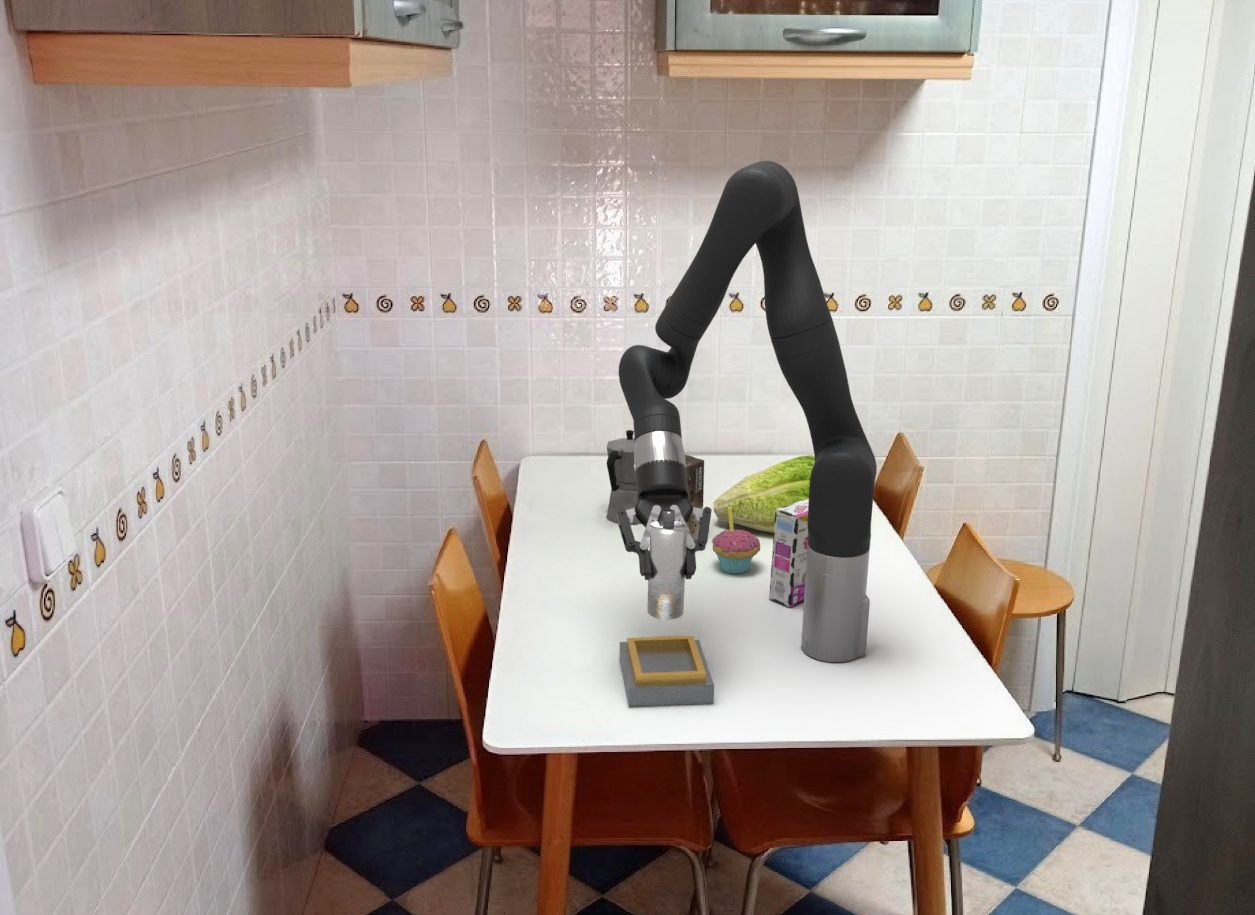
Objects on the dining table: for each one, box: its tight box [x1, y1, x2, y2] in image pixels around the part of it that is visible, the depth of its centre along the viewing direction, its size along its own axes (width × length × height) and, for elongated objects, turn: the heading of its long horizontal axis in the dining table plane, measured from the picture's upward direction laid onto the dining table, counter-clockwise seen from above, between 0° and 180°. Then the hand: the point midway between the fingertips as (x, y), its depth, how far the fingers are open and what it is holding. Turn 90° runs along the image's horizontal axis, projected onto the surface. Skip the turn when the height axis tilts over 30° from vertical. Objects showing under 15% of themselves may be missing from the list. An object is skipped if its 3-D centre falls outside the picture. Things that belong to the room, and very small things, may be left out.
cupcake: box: [711, 503, 761, 575], centre depth 214 cm, size 9×8×12 cm
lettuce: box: [712, 454, 815, 535], centre depth 234 cm, size 15×24×16 cm
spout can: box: [646, 509, 687, 620], centre depth 170 cm, size 5×5×15 cm
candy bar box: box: [768, 498, 809, 608], centre depth 203 cm, size 11×5×16 cm, turn 135°
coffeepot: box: [606, 429, 642, 526], centre depth 236 cm, size 15×9×18 cm, turn 153°
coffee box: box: [685, 454, 705, 541], centre depth 224 cm, size 9×6×16 cm
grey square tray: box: [618, 635, 715, 708], centre depth 175 cm, size 12×14×4 cm
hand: (668, 577), depth 169 cm, fingers closed on spout can, 5 cm apart
